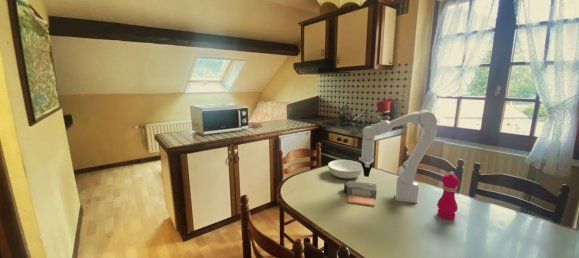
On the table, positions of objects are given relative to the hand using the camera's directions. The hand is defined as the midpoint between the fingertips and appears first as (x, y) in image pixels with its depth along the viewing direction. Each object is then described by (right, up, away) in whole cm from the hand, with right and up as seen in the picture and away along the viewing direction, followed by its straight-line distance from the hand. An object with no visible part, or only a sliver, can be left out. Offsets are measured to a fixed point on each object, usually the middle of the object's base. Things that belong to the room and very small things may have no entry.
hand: (366, 176), depth 122 cm
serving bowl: (-5, -5, +26) cm, 27 cm away
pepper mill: (+28, -13, -19) cm, 36 cm away
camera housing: (-2, -9, +1) cm, 10 cm away
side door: (-4, -10, -3) cm, 11 cm away
